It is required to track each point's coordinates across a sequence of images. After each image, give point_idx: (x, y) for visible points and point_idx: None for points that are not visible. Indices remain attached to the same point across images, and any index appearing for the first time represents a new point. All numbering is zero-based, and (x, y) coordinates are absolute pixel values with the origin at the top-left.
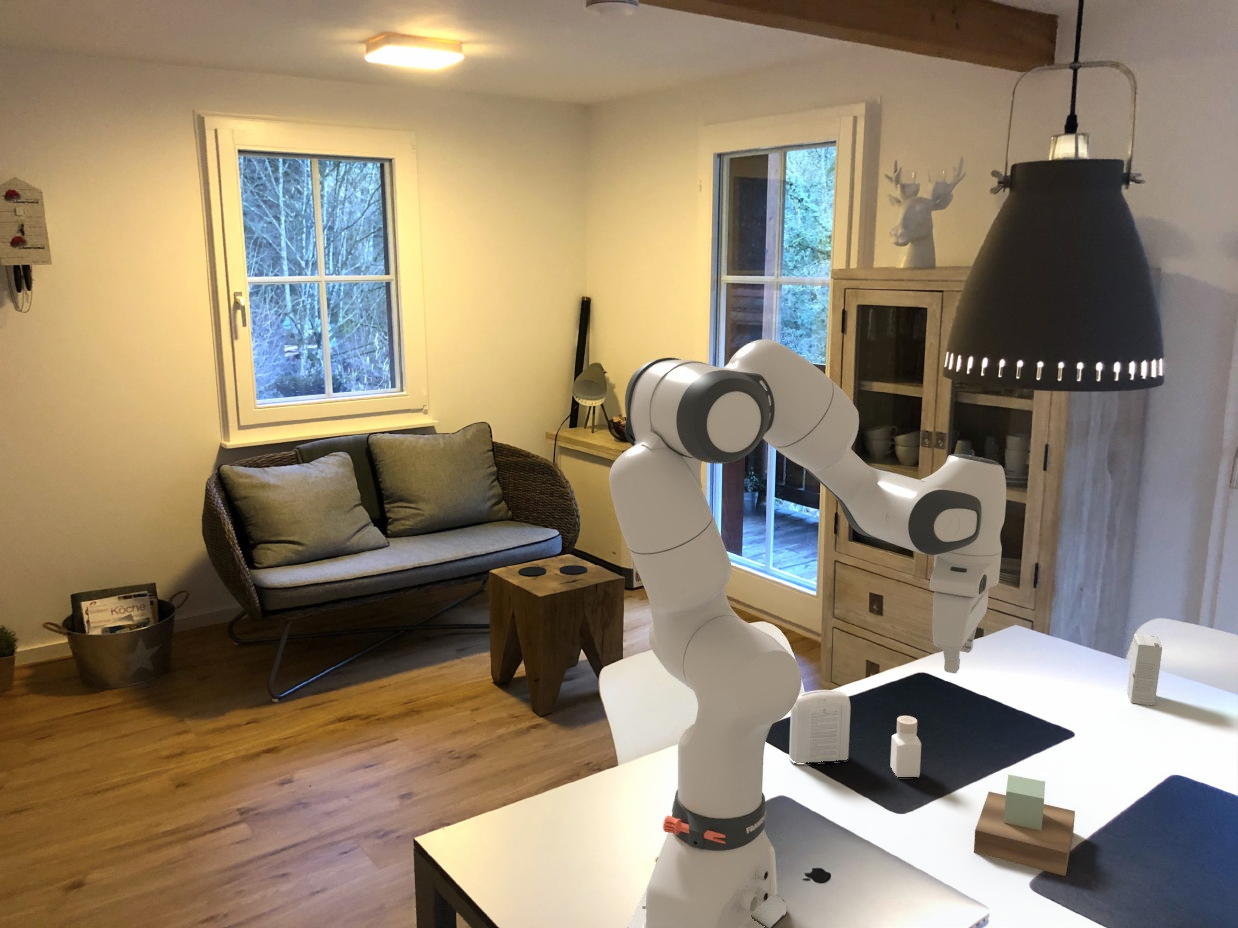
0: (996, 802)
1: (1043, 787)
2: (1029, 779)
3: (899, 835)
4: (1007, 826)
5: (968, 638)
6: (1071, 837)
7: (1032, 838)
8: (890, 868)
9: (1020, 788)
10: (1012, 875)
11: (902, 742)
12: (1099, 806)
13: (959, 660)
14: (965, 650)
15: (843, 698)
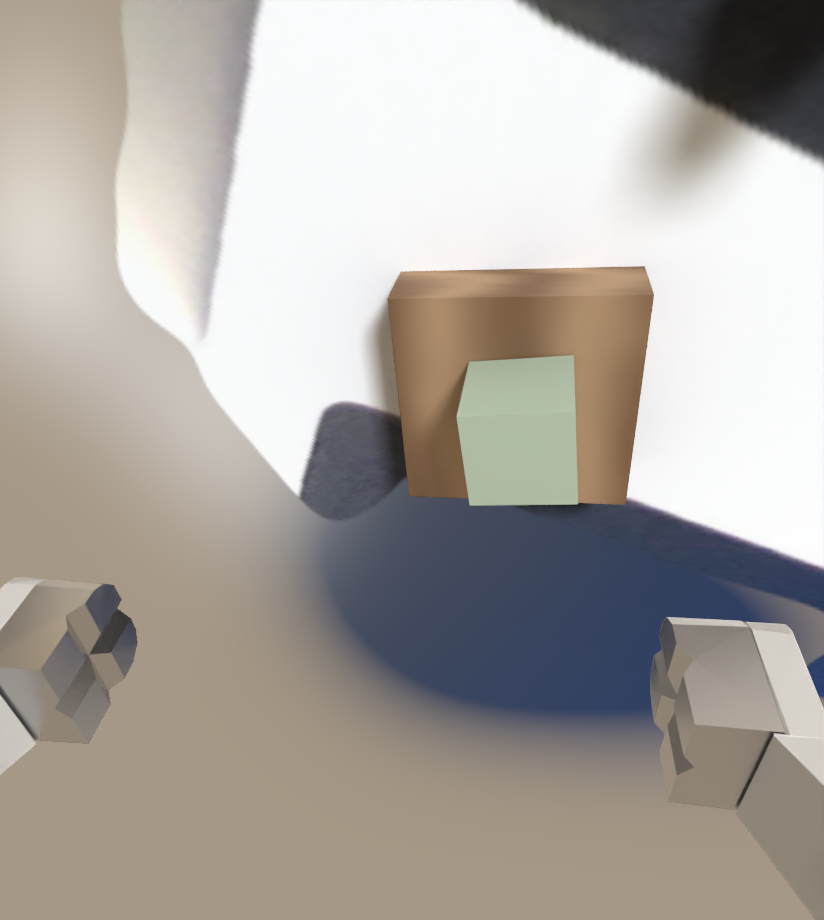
0: (585, 326)
1: (536, 501)
2: (570, 467)
3: (365, 35)
4: (455, 372)
5: (754, 795)
6: None
7: (429, 429)
8: (180, 73)
9: (496, 449)
10: (353, 368)
11: None
12: (785, 511)
13: (63, 734)
14: (664, 664)
15: None
